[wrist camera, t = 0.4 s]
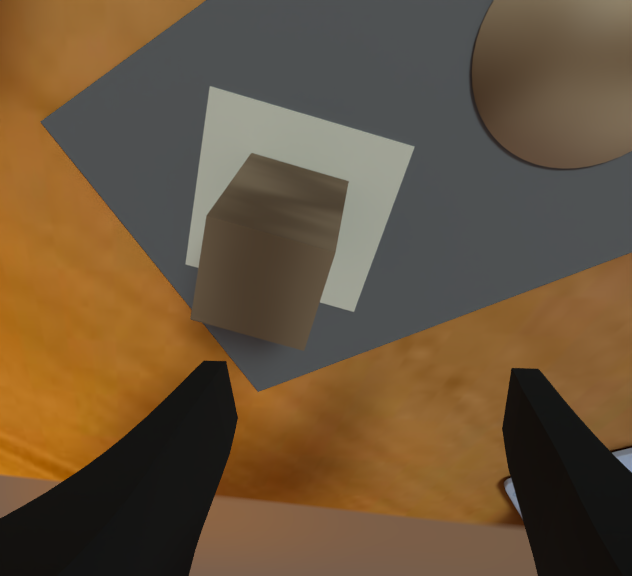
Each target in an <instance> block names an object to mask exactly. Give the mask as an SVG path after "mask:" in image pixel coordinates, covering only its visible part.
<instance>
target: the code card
mask: <svg viewBox="0 0 632 576" xmlns="http://www.w3.org/2000/svg"><path fill="white" fill-rule="evenodd" d="M413 150H414V146H411V145H408V144H404V143H401V142H397V141H394V140H391V139H387V138H384V137H381V136H377V135H374V134H370V133H367V132H364V131H360V130H357V129H354V128H350V127H347V126H343V125H340V124H337V123H333V122H330V121H327V120H323V119H320V118H316V117H313V116H310V115H306V114H303V113H299V112H296V111H293V110H289V109H286V108H283V107H279V106H276V105H272V104H269V103H266V102H262V101H259V100H256V99H252V98H249V97H245V96H242V95H239V94H235V93H232V92H229V91H225V90H222V89H218V88H215V87H212V86H210V88H209V95H208V103H207V110H206V117H205V125H204V132H203V139H202V146H201V154H200V161H199V168H198V176H197V183H196V190H195V198H194V205H193V212H192V220H191V227H190V234H189V241H188V249H187V256H186V263H185V264H186V265H190V266H193V267H197V268H198V267H199V261H200V254H201V248H202V241H203V235H204V228H205V222H206V215H207V214H208V213H209V211H210V210H211V209H212V207H213V206H214V204H215V203H216V202H217V200H218V199H219V197H220V196H221V195H222V193H223V192H224V190H225V189H226V188H227V186H228V185H229V183H230V182H231V181H232V179H233V178H234V176H235V175H236V174H237V172H238V171H239V169H240V168H241V167H242V165H243V164H244V162H245V161H246V160H247V158H248V157H249V155H250V154H251V153H254V154H257V155H261V156H264V157H268V158H271V159H274V160H278V161H281V162H285V163H288V164H291V165H295V166H298V167H302V168H305V169H309V170H312V171H315V172H319V173H322V174H326V175H329V176H333V177H336V178H339V179H343V180H346V181H349V183H348V188H347V194H346V199H345V204H344V210H343V215H342V220H341V226H340V231H339V237H338V242H337V247H336V253H335V256H334V259H333V262H332V265H331V268H330V271H329V275H328V278H327V281H326V284H325V287H324V290H323V293H322V296H321V300H320V303H324V304H327V305H331V306H334V307H338V308H342V309H345V310H349V311H352V312H354V310H355V307H356V305H357V302H358V299H359V297H360V294H361V291H362V288H363V286H364V283H365V280H366V278H367V275H368V272H369V269H370V267H371V264H372V261H373V259H374V256H375V253H376V250H377V248H378V245H379V242H380V240H381V237H382V234H383V231H384V229H385V226H386V223H387V221H388V218H389V215H390V212H391V210H392V207H393V204H394V202H395V199H396V196H397V193H398V191H399V188H400V185H401V183H402V180H403V177H404V174H405V172H406V169H407V166H408V164H409V161H410V158H411V155H412V153H413Z"/></svg>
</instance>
